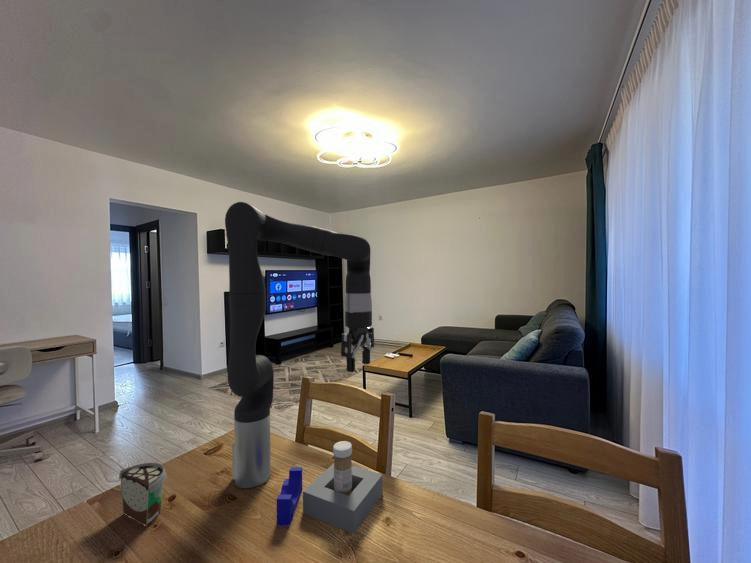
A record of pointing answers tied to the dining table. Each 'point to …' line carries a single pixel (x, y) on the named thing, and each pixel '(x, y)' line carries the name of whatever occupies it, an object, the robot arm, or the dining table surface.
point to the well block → (343, 498)
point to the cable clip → (289, 496)
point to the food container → (142, 491)
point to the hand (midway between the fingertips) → (358, 367)
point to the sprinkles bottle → (343, 467)
